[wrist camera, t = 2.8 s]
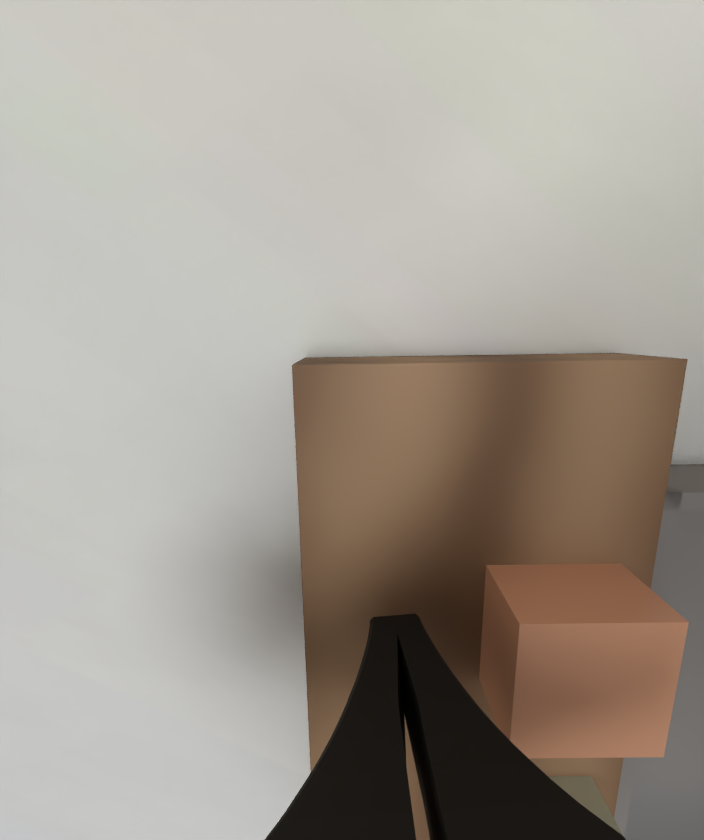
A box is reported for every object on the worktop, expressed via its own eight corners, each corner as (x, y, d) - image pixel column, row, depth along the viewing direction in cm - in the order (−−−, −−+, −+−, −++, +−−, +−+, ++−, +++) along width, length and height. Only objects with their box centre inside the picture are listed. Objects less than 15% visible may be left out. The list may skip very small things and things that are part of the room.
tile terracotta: (620, 563, 12) (688, 622, 10) (605, 676, 13) (664, 757, 10) (486, 565, 12) (519, 624, 10) (479, 677, 13) (508, 758, 11)
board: (616, 353, 14) (687, 359, 11) (552, 877, 19) (588, 977, 16) (304, 357, 14) (292, 365, 11) (325, 878, 19) (320, 979, 16)
